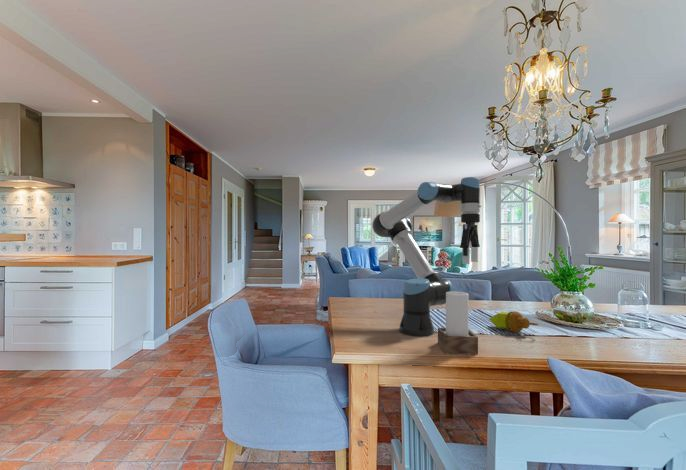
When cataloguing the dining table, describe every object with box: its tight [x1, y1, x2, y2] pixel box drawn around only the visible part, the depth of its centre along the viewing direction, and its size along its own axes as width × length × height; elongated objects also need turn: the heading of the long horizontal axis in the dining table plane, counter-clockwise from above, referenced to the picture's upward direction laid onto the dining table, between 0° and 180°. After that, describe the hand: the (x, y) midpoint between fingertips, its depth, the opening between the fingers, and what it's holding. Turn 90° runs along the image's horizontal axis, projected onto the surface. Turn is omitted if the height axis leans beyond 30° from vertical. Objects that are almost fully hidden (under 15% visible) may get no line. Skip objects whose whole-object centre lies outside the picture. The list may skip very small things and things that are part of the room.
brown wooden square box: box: [437, 327, 479, 355], centre depth 130 cm, size 12×12×6 cm
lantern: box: [488, 311, 540, 333], centre depth 155 cm, size 9×9×25 cm
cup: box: [445, 290, 469, 336], centre depth 131 cm, size 8×8×16 cm
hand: (470, 262), depth 146 cm, fingers open, 13 cm apart
